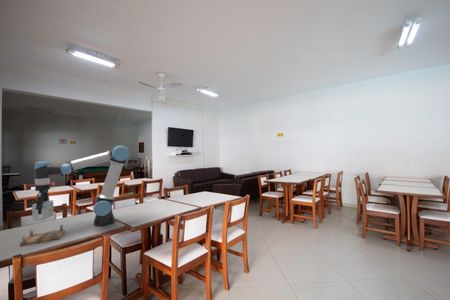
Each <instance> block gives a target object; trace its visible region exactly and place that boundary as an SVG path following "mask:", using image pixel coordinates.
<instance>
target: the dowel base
mask: <svg viewBox="0 0 450 300" xmlns="http://www.w3.org/2000/svg"><path fill="white" fill-rule="evenodd" d="M65 232H66V229H64V225H63V224H60V225H59V230H54V231H47V232H41V233H36V234H34V230H33V228H31V229H29V235H28V236H26V235H24V236H23V235H22V236H21V237H22V238H21V239H22V241H20V243H19V247H24V246H29V245H30V246H31V245H35V244H41V243H47V242H53V241H58V240H61V238H62V237H63V236H64V233H65Z"/></svg>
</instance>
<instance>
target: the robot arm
mask: <svg viewBox="0 0 450 300" xmlns="http://www.w3.org/2000/svg"><path fill="white" fill-rule="evenodd" d="M129 156H130V150H129V148H128V147H127V146H125V145H117V146H115V147H114V148H111V149H108V150H106V151H104V152H100V153H97V154H93V155H89V156H85V157H82V158H78V159H73V160H70V161H65V162H62V163H50V161H36V162H35V163H34V180H33V181H34V184H35V185H34V186H35V187H34V189H35V190H34V191H36V192H38V193H36V203H35V204H36V208H35V209H36V210H37V219H43V208H42V207H43V202H44V201H50V196H49V190H50V189H51V184H50V183H51V180H50V179H51V176H55V175H56V176H58V175H70V174H71V173H72V172H73V171H76V170H80V169H84V168H87V167H91V166H95V165H98V164H102V163H105V162H110V166H109V169H108V171H107V174H106V177H105V179H104V182H103V186H102V189H101V192H100V194H98V195H96V196H95V203H94V205H93V212H94V214H95V216H94V218H93V226H96V227H103V226H108V225H111V224H113V223H114V222H115V221H116V217H115V216H114V213H113V204H114V201H115V196H114V195H115V191H116V188H117V185H118V182H119V180H120V176H121V173H122V170H123V167H124V166H125V165H126V164H127V161H128V158H129ZM115 223H116V222H115Z"/></svg>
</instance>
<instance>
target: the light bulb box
mask: <svg viewBox="0 0 450 300" xmlns="http://www.w3.org/2000/svg"><path fill="white" fill-rule="evenodd" d="M35 208H36V203H34V204H32V205H31V210H32V212H31V213H32V215H31V216H32V222H36V221H37V222H39V221H44V220H47V219H48V218H50V217H53V216H54V213H55V212H54V200H49V201H44V202H43V207H42V208H43V219H37V210H36V209H35Z"/></svg>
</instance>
